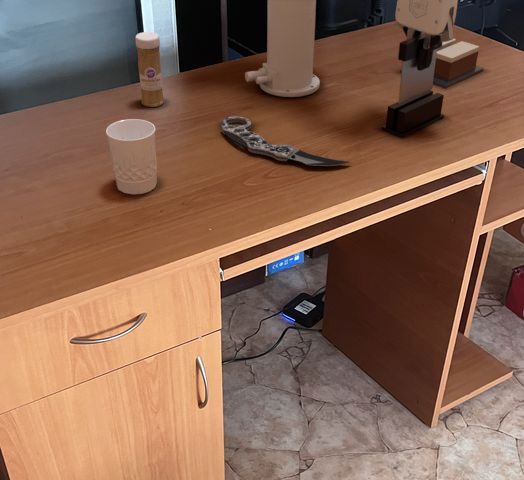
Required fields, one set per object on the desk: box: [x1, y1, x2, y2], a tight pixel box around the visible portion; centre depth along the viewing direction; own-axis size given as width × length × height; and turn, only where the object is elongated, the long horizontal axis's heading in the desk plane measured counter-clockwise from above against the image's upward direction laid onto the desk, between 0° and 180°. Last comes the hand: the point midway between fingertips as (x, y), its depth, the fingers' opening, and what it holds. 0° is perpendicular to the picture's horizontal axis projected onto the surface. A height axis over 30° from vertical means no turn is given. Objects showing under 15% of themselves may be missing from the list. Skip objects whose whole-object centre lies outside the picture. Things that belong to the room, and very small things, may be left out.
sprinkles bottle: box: [135, 31, 165, 108], centre depth 154 cm, size 5×5×13 cm
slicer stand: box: [380, 89, 445, 139], centre depth 150 cm, size 13×5×5 cm, turn 134°
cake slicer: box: [397, 32, 443, 104], centre depth 145 cm, size 11×2×11 cm, turn 134°
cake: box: [399, 38, 484, 89], centre depth 170 cm, size 14×12×6 cm
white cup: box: [105, 118, 158, 195], centre depth 129 cm, size 8×8×10 cm
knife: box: [220, 115, 352, 167], centre depth 143 cm, size 28×2×10 cm
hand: (418, 66), depth 145 cm, fingers closed on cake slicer, 1 cm apart
